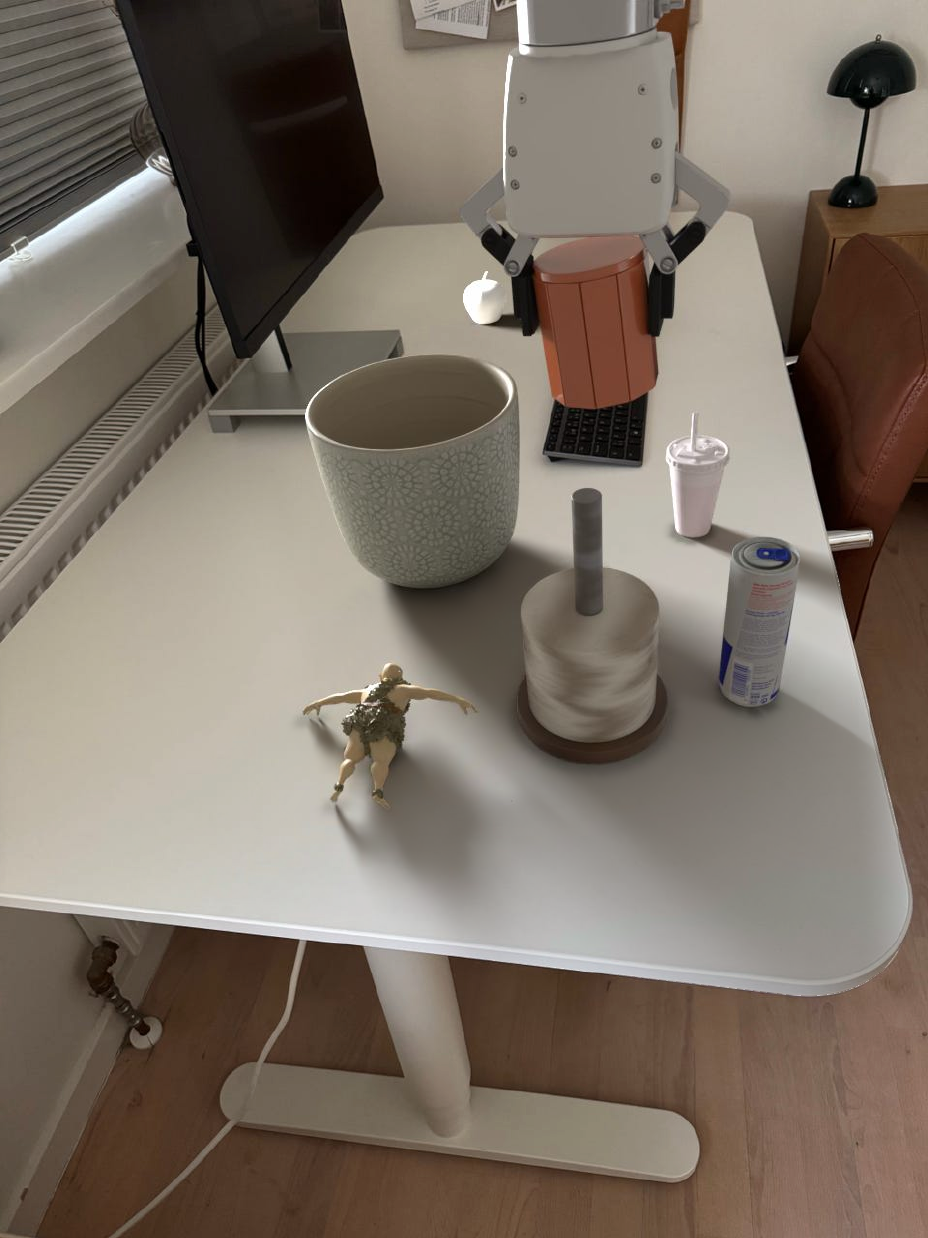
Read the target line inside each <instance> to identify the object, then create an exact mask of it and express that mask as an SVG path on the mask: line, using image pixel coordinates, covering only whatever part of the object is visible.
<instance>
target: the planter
mask: <svg viewBox="0 0 928 1238" xmlns="http://www.w3.org/2000/svg"><path fill="white" fill-rule="evenodd" d="M305 424H306V429H307V432H308V437H309V441H310V445H311V447H312V448H311V449H312V451H313V454H314V458H315V460H316V465H317V468H318V471H319V475H320V479H321V480H322V484H323V486H324V489H325V493H326V496H327V499H328V501H329V505H330V507H331V510H332V513H333V516H334V519H335V522H336V524H337V526H338V529H339V532H340V534H341V536H342V539H343V541H344V543H345V546H346V547H347V549H348V551H349V553H350V554H351V556H352V557H353V559H354V560H355V561H356V562H357V563H358V564H359V566H361V568H363V569H364V570H366V571H367V572H368V573H370V574H371V575H373V576H374V577H376V578H378V579H379V580H380V579H381V580H383V581H385V582H387V583H389V584H393V585H397V586H400V587H405V588H411V589H437V588H442V587H443V588H444V587H448V586H452V585H455V584H459V583H462V582H464V581H467V580H468V579H471V578H473V577H474V576H477V575H478V574H480V573H481V572H483V571H485V570H486V569H487V568H489V567H490V565H492V564H494V562H496V561H497V560H498V558H499V557H500V556H501V555H502V554H503V553H504V552H505V550H506V549H507V547H508V545H509V543H510V542H511V540H512V538H513V535H514V532H515V529H516V525H517V519H518V511H519V500H520V470H521V469H520V468H521V467H520V466H521V465H520V463H521V459H520V456H521V452H520V451H521V438H520V437H521V436H520V435H521V434H520V433H521V432H520V428H521V427H520V406H519V393H518V386H517V383H516V381H515V379H514V378H513V377H512V375H511V374H510V373H509V372H508V371H507V370H506V369H504V368H503V367H501V366H499V365H497V364H495V363H493V362H490V361H487V360H485V359H482V358H478V357H474V356H469V355H463V354H454V353H452V354H451V353H424V354H413V355H406V356H400V357H393V358H388V359H385V360H381V361H376V362H373V363H369V364H366V365H364V366H361V367H359V368H356V369H353V370H351V371H348V372H347V373H345V374H342V375H340V376H339V377H337V378H335V379H334V380H332V381H331V382H329V383H327V384H326V385H325V386H323V387H322V388H321V389H320V390H319V391H317V393H316V394H315V395H314V396H313V397H312V398H311V400H310V401H309V403H308V406H307V408H306V411H305Z"/></svg>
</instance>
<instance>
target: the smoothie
mask: <svg viewBox="0 0 928 1238" xmlns="http://www.w3.org/2000/svg"><path fill="white" fill-rule="evenodd" d="M698 425H699V411H697V410H694V411H693V412H692V418H691V435H687V436H683V437H680V438H677V439H675V440H673V441H671V442H670V444H668V446H667V447H666V456H665V460H666V462H667V464H668V465H669V477H670V484H671V496H672V505H673V516H674V527H675V531H676V532H677V533H678V534H679V535H681V536H683V537H687V538H700V537H704V536H706V535H707V534H708V533H710V531H711V526H712V522H713V519H714V514H715V510H716V505H717V501H718V496H719V493H720V488H721V484H722V480H723V476H724V472H725V467H726V466H727V465H728V464H729V462H730V459H731V457H730V453H731V452H730V447H729V446H728V444H727V443H726V442H724V441H723V440H721V439H719V438H717V437H715V436H710V435H699V434H698V427H699V426H698Z"/></svg>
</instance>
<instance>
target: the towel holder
mask: <svg viewBox="0 0 928 1238" xmlns="http://www.w3.org/2000/svg"><path fill="white" fill-rule="evenodd" d="M570 497H571V523H572V524H571V525H572V550H573V552H572V553H573V554H572V555H573V568H567V569H563V570H560V571H557V572H554V573H551V574H550V575H547V576H545V577H544V578H542V579H541V580H539V581H538V582H537V583H535V584H534V585H533V586H532V587H531V588H530V589H529V590H528V591H527V593H526V594H525V595H524V597H523V600H522V603H521V606H520V619H521V620H520V621H521V632H522V644H523V645H522V646H523V654H524V655H523V656H524V667H525V668H524V669H525V675H524V676H523V678H522V679H521V682H520V684H519V686H518V690H517V693H516V694H517V695H516V706H517V714H518V715H517V716H518V720H519V724H520V726H521V729H522V730H523V733H524V734H525V735H526V736H527V738H528V739H529V740H530V741H531V742H532V743H533V744H534V745H535V746H536V747H538V749H540V750H541V751H543V752H545V753H546V754H548V755H550V756H553V757H555V758H557V759H560V760H564V761H566V762H571V763H575V764H581V765H582V764H583V765H603V764H612V763H615V762H620V761H624V760H626V759H629V758H631V757H633V756H635V755H638V754H639V753H641V752H642V751H644V750H646V749H647V748H648V747H649V746H650V745H652V744H653V743H654V742H655V741H656V739H658V737H659V736H660V734H661V733H662V732H663V729H664V727H665V725H666V722H667V721H666V720H667V717H668V703H669V702H668V700H669V698H668V692H667V691H668V690H667V688H666V684H665V683H664V681H663V679H662V677H661V676H660V675H659V673H658V659H659V658H658V657H659V656H658V655H659V633H660V631H659V630H660V603H659V600H658V597H657V595H656V594H655V592H654V591H653V590H652V588H651V587H650V585H648V584H647V583H646V582H645V581H643V580H641V579H640V578H639V577H637V576H635V575H633V574H631V573H628V572H626V571H622V570H619V569H616V568H612V567H605V566H604V562H603V561H604V558H603V554H604V553H603V552H604V551H603V550H604V549H603V494H602V492H601V491H600V490H598V489H597V488H593V487H583V488H582V487H581V488H578V489H575V491H573V493H572V494H571V496H570Z"/></svg>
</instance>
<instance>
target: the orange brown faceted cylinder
mask: <svg viewBox="0 0 928 1238" xmlns="http://www.w3.org/2000/svg"><path fill="white" fill-rule="evenodd" d="M650 268H651V267H650V256H649V252H648V251H647V249H646V247H645V245H644V244H643V242H642V240H641V239H640V237H639V236H638V235H635V236H611V237H582V238H578V239H574V240H572V241H567V242H564V243H562V244H560V245H556V246H554V247H552V248H549V249H548V250H545V251H544V252H543V253H541V254H539V255H538V256H537V257H536V258H534V262H533V271H534V274H533V275H532V279H533V285H534V291H535V297H536V303H537V309H538V315H539V321H540V324H539V328H540V332H541V339H542V345H543V352H544V357H545V363H546V369H547V375H548V381H549V388H550V394H551V397H552V398H553V399H555V400H556V401H557V402H558V403H560V404H562V405H563V407H566V408H574V409H587V410H596V409H597V410H598V409H603V408H604V409H605V408H608V407H613V406H618V405H622V404H628V403H630V402H633V401H634V400H636V399H638V398H640V397H641V396H643V395H645V394H647V393H648V392H650V391H652V390H653V389H654V388H656V385H657V380H658V377H659V374H660V373H659V361H658V350H657V337H651V335H648V302H649V276H650V273H651V269H650Z"/></svg>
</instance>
